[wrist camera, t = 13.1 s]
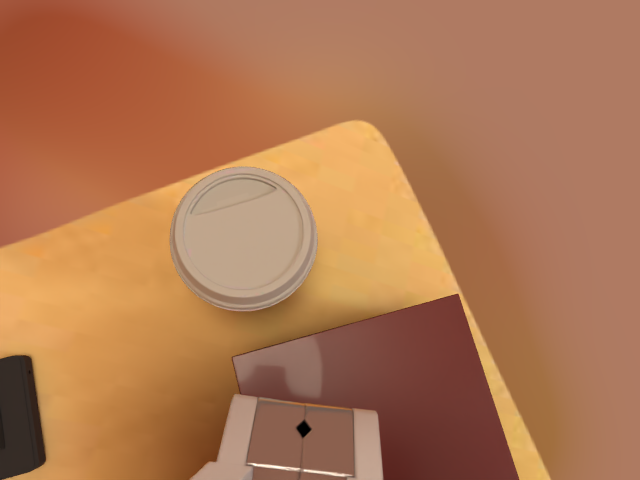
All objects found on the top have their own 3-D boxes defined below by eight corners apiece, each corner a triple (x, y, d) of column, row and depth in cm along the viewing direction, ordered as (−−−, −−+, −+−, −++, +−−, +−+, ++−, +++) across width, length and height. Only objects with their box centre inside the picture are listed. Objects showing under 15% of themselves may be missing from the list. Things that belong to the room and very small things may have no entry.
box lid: (232, 356, 28) (231, 356, 28) (453, 294, 31) (458, 293, 30) (309, 680, 25) (310, 690, 25) (548, 584, 28) (556, 591, 27)
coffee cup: (314, 228, 41) (336, 178, 29) (288, 333, 39) (301, 325, 27) (209, 201, 40) (189, 140, 28) (178, 307, 38) (143, 286, 26)
